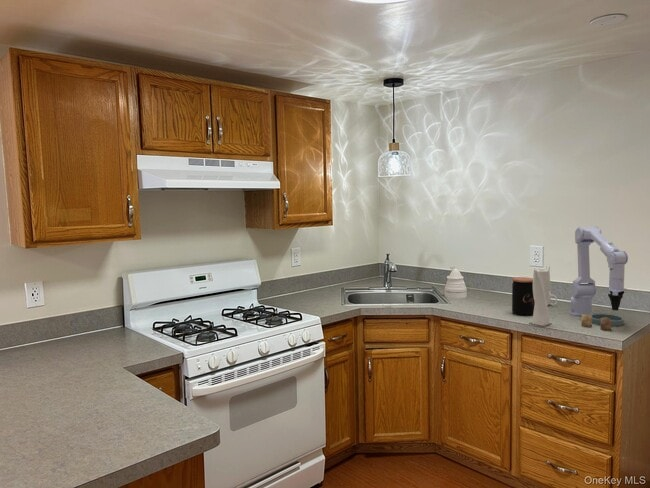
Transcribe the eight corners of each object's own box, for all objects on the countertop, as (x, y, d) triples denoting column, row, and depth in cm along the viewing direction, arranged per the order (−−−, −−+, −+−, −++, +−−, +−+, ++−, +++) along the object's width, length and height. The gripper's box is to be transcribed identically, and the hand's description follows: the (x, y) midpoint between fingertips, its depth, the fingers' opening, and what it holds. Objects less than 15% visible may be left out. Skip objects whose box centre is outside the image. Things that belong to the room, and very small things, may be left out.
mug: (531, 305, 273) (531, 291, 273) (537, 302, 279) (537, 288, 279) (554, 308, 265) (554, 293, 264) (560, 305, 271) (560, 291, 270)
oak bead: (580, 326, 228) (581, 315, 228) (582, 324, 232) (582, 313, 231) (590, 327, 226) (590, 316, 226) (591, 325, 230) (592, 314, 229)
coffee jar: (524, 317, 248) (524, 281, 246) (507, 313, 257) (507, 278, 255) (539, 314, 253) (539, 279, 251) (522, 310, 262) (522, 276, 260)
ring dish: (587, 323, 232) (587, 318, 232) (591, 317, 244) (591, 312, 244) (622, 327, 224) (622, 322, 224) (624, 320, 236) (624, 315, 236)
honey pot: (441, 297, 301) (441, 267, 299) (449, 293, 311) (449, 264, 310) (462, 299, 293) (462, 268, 292) (469, 295, 304) (469, 265, 302)
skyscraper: (554, 324, 232) (555, 265, 230) (544, 327, 228) (545, 266, 225) (537, 321, 239) (538, 263, 236) (527, 324, 234) (528, 265, 232)
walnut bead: (600, 330, 222) (600, 319, 221) (601, 328, 225) (601, 317, 224) (610, 331, 219) (610, 320, 219) (611, 329, 223) (611, 318, 222)
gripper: (626, 281, 214) (625, 312, 215) (628, 276, 226) (627, 306, 227) (607, 280, 218) (606, 311, 219) (610, 275, 230) (609, 304, 231)
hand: (615, 308), depth 224 cm, fingers open, 7 cm apart
